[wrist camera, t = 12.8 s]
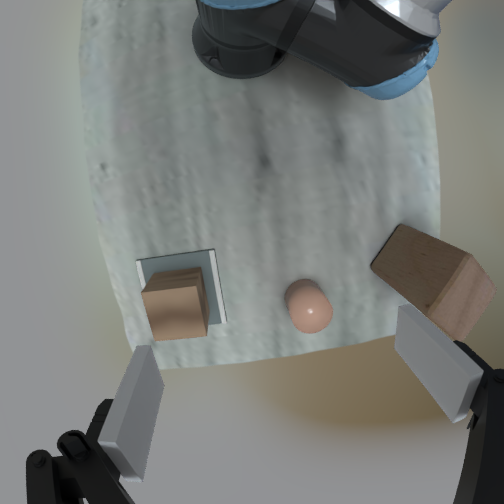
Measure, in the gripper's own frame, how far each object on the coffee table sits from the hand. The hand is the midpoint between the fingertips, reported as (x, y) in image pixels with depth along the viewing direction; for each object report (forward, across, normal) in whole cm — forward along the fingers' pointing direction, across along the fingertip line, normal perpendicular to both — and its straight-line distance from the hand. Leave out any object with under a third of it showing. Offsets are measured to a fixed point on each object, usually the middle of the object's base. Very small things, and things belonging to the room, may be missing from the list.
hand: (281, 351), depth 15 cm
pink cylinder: (+35, +8, -14) cm, 38 cm away
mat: (+35, -12, -10) cm, 38 cm away
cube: (+34, -12, -10) cm, 38 cm away
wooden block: (+35, +27, -10) cm, 45 cm away
